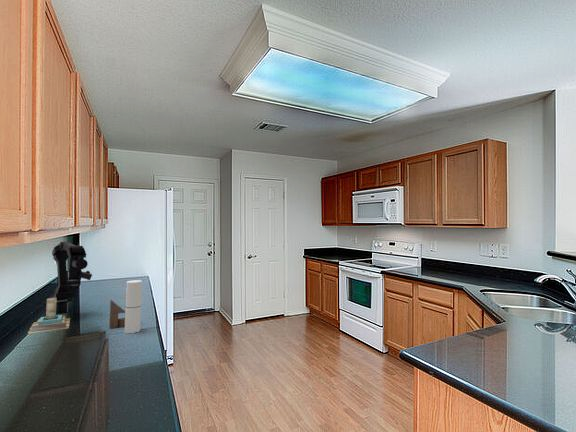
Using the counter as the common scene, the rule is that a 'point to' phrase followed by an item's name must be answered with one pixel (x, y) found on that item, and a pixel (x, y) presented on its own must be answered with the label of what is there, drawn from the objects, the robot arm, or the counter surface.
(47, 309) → the birch dowel
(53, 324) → the rail base
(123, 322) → the wooden block
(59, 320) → the socket block
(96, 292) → the counter surface
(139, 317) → the cylindrical container
